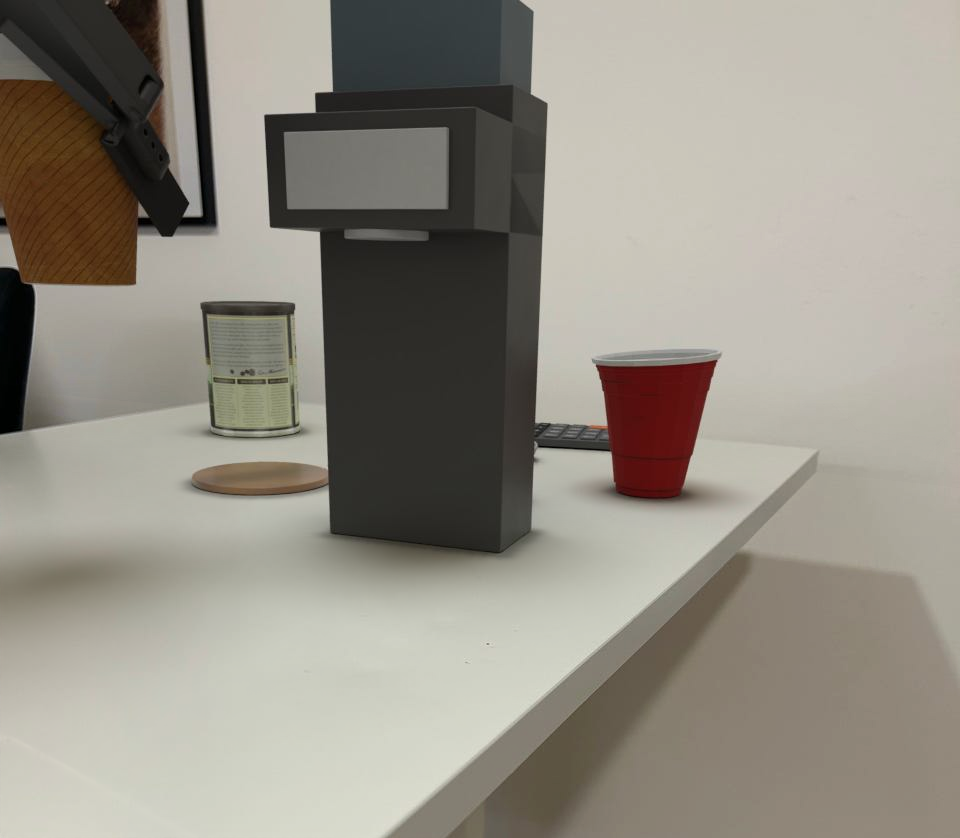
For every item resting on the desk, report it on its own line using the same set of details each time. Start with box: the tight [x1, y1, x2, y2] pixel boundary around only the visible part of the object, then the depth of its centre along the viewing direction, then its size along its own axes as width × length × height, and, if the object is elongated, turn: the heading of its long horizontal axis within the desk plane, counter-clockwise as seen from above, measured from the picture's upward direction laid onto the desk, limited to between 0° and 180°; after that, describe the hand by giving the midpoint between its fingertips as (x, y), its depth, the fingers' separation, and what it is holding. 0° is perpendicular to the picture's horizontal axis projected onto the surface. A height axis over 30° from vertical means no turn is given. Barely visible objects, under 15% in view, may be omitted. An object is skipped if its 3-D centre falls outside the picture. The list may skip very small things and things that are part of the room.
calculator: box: [535, 422, 610, 450], centre depth 112 cm, size 12×1×15 cm
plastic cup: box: [590, 348, 723, 499], centre depth 84 cm, size 11×11×12 cm
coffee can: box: [199, 300, 301, 438], centre depth 111 cm, size 10×10×14 cm
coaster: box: [191, 461, 329, 496], centre depth 87 cm, size 12×12×1 cm
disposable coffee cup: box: [0, 32, 140, 287], centre depth 56 cm, size 10×10×12 cm
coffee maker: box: [263, 0, 549, 553], centre depth 63 cm, size 13×13×33 cm
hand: (111, 219), depth 59 cm, fingers closed on disposable coffee cup, 8 cm apart
